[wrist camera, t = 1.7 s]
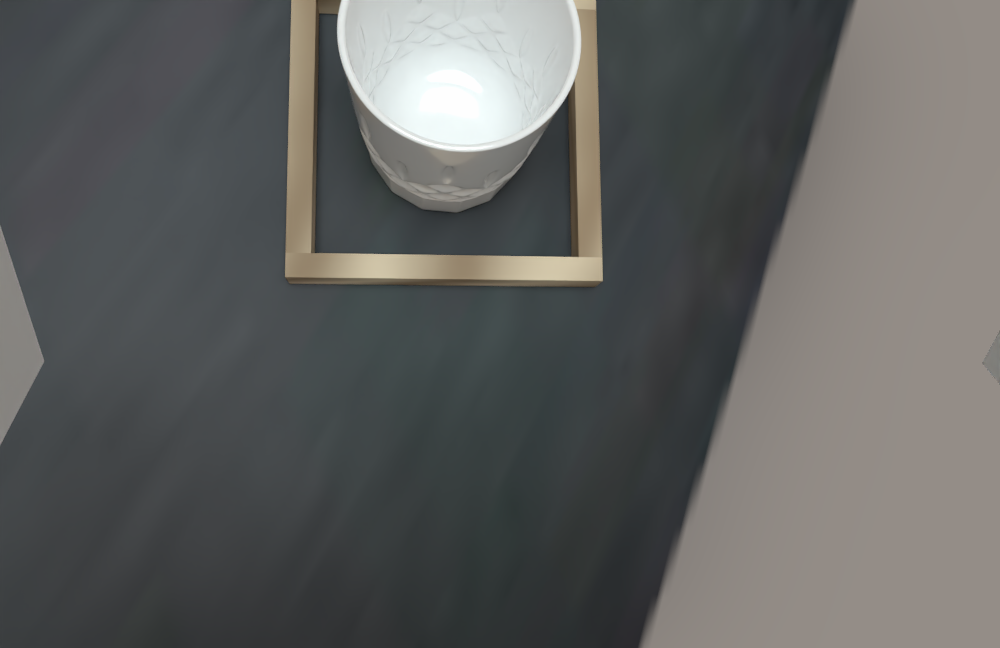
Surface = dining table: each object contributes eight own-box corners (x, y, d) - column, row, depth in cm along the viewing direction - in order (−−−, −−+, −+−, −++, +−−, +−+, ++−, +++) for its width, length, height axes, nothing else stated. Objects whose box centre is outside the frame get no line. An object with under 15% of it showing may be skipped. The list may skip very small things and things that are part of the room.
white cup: (385, 29, 38) (380, -115, 28) (555, 85, 38) (609, -36, 28) (330, 194, 36) (303, 106, 26) (505, 250, 37) (544, 183, 27)
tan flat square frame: (289, 283, 36) (285, 277, 34) (296, -10, 37) (291, -28, 36) (594, 287, 37) (602, 280, 36) (587, 5, 39) (595, -12, 37)
